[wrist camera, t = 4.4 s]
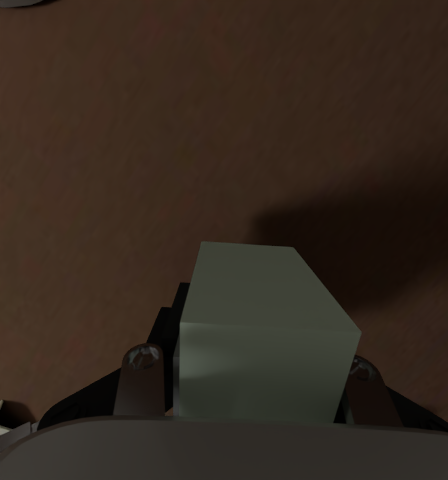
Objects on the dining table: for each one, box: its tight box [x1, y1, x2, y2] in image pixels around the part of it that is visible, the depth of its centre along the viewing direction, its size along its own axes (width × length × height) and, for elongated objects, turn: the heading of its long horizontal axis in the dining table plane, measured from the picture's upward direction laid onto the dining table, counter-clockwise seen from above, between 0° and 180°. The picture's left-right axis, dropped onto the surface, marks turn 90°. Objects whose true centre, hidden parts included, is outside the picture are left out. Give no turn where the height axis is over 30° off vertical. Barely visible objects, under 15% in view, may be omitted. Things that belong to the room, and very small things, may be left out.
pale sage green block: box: [173, 241, 362, 423], centre depth 10 cm, size 7×5×6 cm
